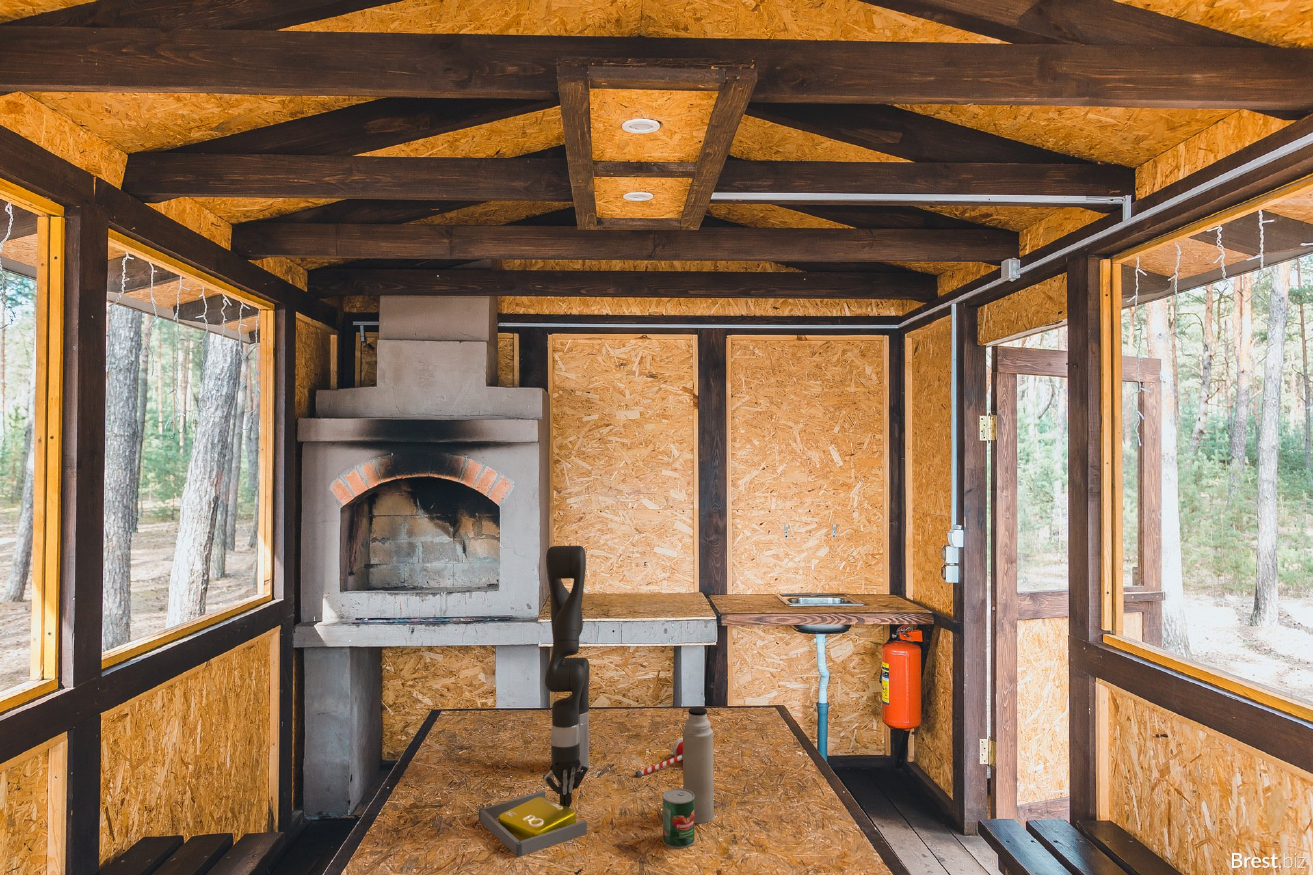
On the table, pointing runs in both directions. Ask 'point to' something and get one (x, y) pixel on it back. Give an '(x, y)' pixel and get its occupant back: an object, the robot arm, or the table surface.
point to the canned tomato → (678, 818)
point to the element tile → (536, 818)
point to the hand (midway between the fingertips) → (565, 806)
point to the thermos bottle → (699, 763)
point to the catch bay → (532, 843)
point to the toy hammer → (678, 755)
